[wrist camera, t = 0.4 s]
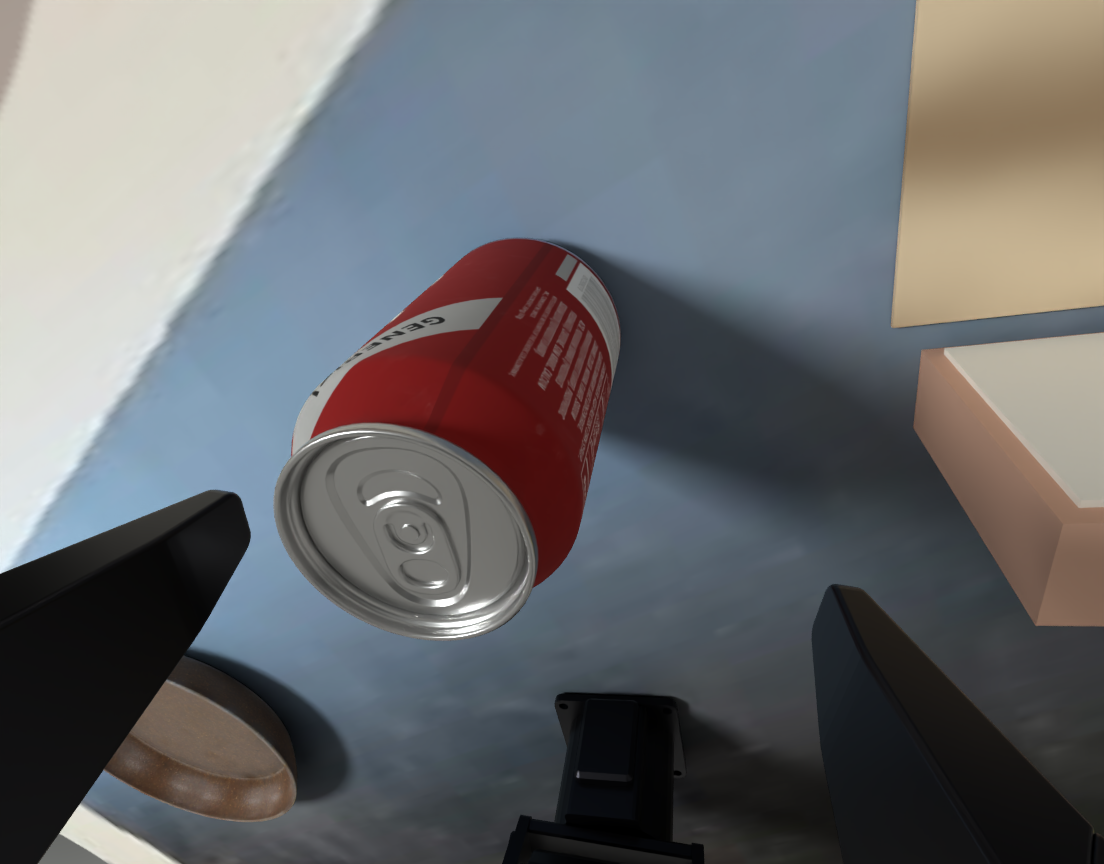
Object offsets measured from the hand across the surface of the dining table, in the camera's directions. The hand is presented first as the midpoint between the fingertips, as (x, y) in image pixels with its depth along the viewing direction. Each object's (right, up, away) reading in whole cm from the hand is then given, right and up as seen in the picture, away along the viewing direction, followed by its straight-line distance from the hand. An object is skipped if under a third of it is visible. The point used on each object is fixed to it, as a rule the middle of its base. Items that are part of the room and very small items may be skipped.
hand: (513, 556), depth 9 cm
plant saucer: (-24, -18, +33) cm, 45 cm away
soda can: (0, +6, +13) cm, 14 cm away
